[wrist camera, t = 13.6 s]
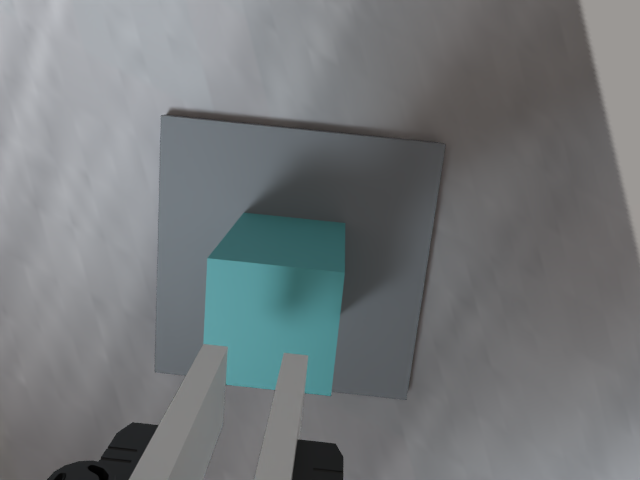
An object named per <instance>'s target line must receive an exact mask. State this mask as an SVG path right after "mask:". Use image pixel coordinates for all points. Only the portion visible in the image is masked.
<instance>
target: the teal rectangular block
mask: <svg viewBox="0 0 640 480" xmlns="http://www.w3.org/2000/svg"><path fill="white" fill-rule="evenodd" d="M344 276H345V223H340V222H330V221H320V220H310V219H301V218H291V217H281V216H272V215H262V214H252V213H243V214H242V215H241V217H240V218H239V219H238V220H237V222H236V223H235V224H234V225H233V227H232V228H231V229H230V230H229V232H228V233H227V234H226V235H225V237H224V238H223V239H222V240H221V242H220V243H219V244H218V245H217V247H216V248H215V249H214V250H213V252H212V253H211V254H210V255H209V257H208V258H207V276H206V297H205V319H204V341H203V344H208V345H217V346H226V347H228V353H227V369H226V385H234V386H243V387H252V388H262V389H271V390H275V388H276V384H277V380H278V375H279V371H280V367H281V363H282V358H283V354H284V353H290V354H299V355H308V364H307V373H306V383H305V393H308V394H317V395H326V396H331V391H332V383H333V374H334V365H335V356H336V347H337V338H338V329H339V320H340V312H341V303H342V294H343V285H344Z"/></svg>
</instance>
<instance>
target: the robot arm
mask: <svg viewBox="0 0 640 480" xmlns="http://www.w3.org/2000/svg"><path fill="white" fill-rule="evenodd" d="M227 353H228V347H226V346H217V345H208V344H203V346H202V348H201V349H200V351H199V353H198V355H197V357H196V358H195V360H194V362H193V364H192V366H191V368H190V369H189V371H188V373H187V375H186V377H185V378H184V380H183V382H182V384H181V386H180V388H179V389H178V391H177V393H176V395H175V397H174V398H173V400H172V402H171V404H170V406H169V408H168V409H167V411H166V413H165V415H164V417H163V418H162V420H161V422H160V424H159V425H151V424H142V423H134V422H132V423H131V424H129V425H128V426H127V427H125V428H124V429H122V430H121V431H119V432H118V433H117V434H116V435H115V437H114V439H113V440H112V442H111V443H110V445H109V446H108V449H106V451H105V452H104V454H103V455H102V457H101V460H99V461H98V462H96V461H79V462H75V463H72V464H69V465H65V466H64V467H62V468H60V469H58V470H57V471H55V472H54V473H53V474H52V475H51V476H50V477H49V478H48V479H47V480H203V479H204V476H205V473H206V470H207V468H208V465H209V462H210V459H211V457H212V454H213V451H214V448H215V446H216V443H217V440H218V437H219V435H220V432H221V429H222V426H223V419H224V402H225V386H226V369H227ZM307 364H308V355H299V354H290V353H284V354H283V358H282V363H281V367H280V371H279V375H278V380H277V384H276V388H275V393H274V397H273V401H272V405H271V410H270V414H269V418H268V423H267V427H266V431H265V435H264V440H263V444H262V448H261V453H260V457H259V461H258V465H257V470H256V474H255V478H254V480H343V456H342V454H341V452H340V451H339V449H338V447H337V445H336V444H334V443H325V442H316V441H307V440H300V433H301V423H302V413H303V403H304V393H305V383H306V373H307Z"/></svg>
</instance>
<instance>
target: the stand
mask: <svg viewBox="0 0 640 480" xmlns="http://www.w3.org/2000/svg"><path fill="white" fill-rule="evenodd" d="M445 146H446V145H445V144H444V143H437V142H427V141H417V140H408V139H398V138H388V137H378V136H369V135H359V134H349V133H339V132H330V131H320V130H310V129H300V128H291V127H281V126H271V125H261V124H252V123H242V122H232V121H223V120H213V119H203V118H193V117H184V116H174V115H161V134H160V175H159V216H158V257H157V298H156V339H155V372H157V373H166V374H175V375H185V376H186V375H187V373H188V371H189V369H190V368H191V366H192V364H193V362H194V360H195V358H196V357H197V355H198V353H199V351H200V349H201V348H202V346H203V341H204V319H205V297H206V276H207V258H208V257H209V255H210V254H211V253H212V252H213V250H214V249H215V248H216V247H217V245H218V244H219V243H220V242H221V240H222V239H223V238H224V237H225V235H226V234H227V233H228V232H229V230H230V229H231V228H232V227H233V225H234V224H235V223H236V222H237V220H238V219H239V218H240V217H241V215H242V214H243V213H252V214H262V215H272V216H281V217H291V218H301V219H310V220H320V221H330V222H340V223H345V276H344V285H343V294H342V303H341V312H340V320H339V329H338V338H337V347H336V356H335V365H334V374H333V383H332V391H331V392H338V393H348V394H357V395H366V396H375V397H384V398H393V399H402V400H407V393H408V387H409V380H410V374H411V367H412V361H413V354H414V348H415V341H416V335H417V328H418V322H419V315H420V309H421V302H422V296H423V289H424V283H425V276H426V270H427V263H428V257H429V250H430V244H431V237H432V231H433V224H434V218H435V211H436V205H437V198H438V192H439V185H440V179H441V172H442V166H443V159H444V153H445Z"/></svg>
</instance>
